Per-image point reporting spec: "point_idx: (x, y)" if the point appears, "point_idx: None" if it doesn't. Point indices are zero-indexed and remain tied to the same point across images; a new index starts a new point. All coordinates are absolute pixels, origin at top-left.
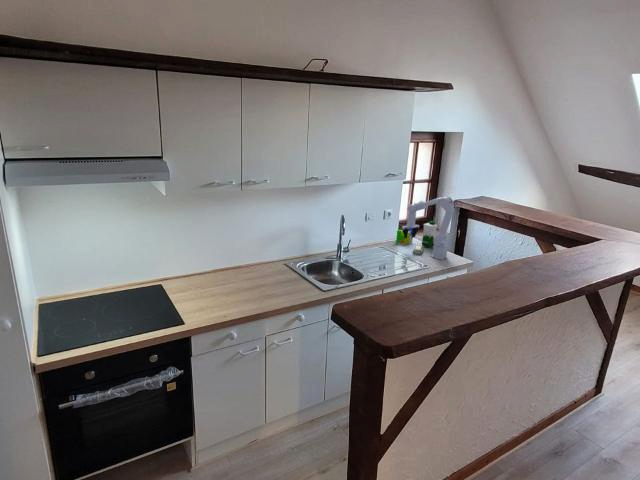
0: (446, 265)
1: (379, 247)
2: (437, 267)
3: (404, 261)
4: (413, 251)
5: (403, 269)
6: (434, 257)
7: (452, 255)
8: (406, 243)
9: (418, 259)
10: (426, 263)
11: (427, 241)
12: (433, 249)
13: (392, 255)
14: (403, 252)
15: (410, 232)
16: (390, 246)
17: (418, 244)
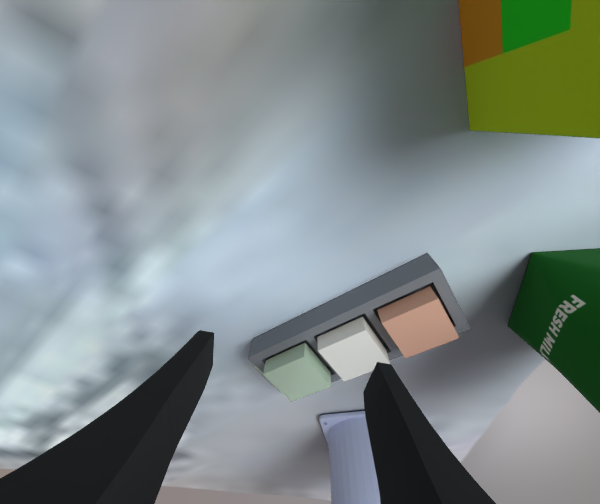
0: (280, 488)
1: (13, 6)
2: (217, 482)
3: (94, 387)
4: (250, 356)
5: (29, 434)
6: (324, 433)
7: (465, 455)
8: (474, 107)
9: (206, 405)
10: (205, 446)
11: (556, 366)
12: (340, 477)
13: (62, 286)
14: (203, 284)
15: None
16: (195, 59)
17: (428, 316)
